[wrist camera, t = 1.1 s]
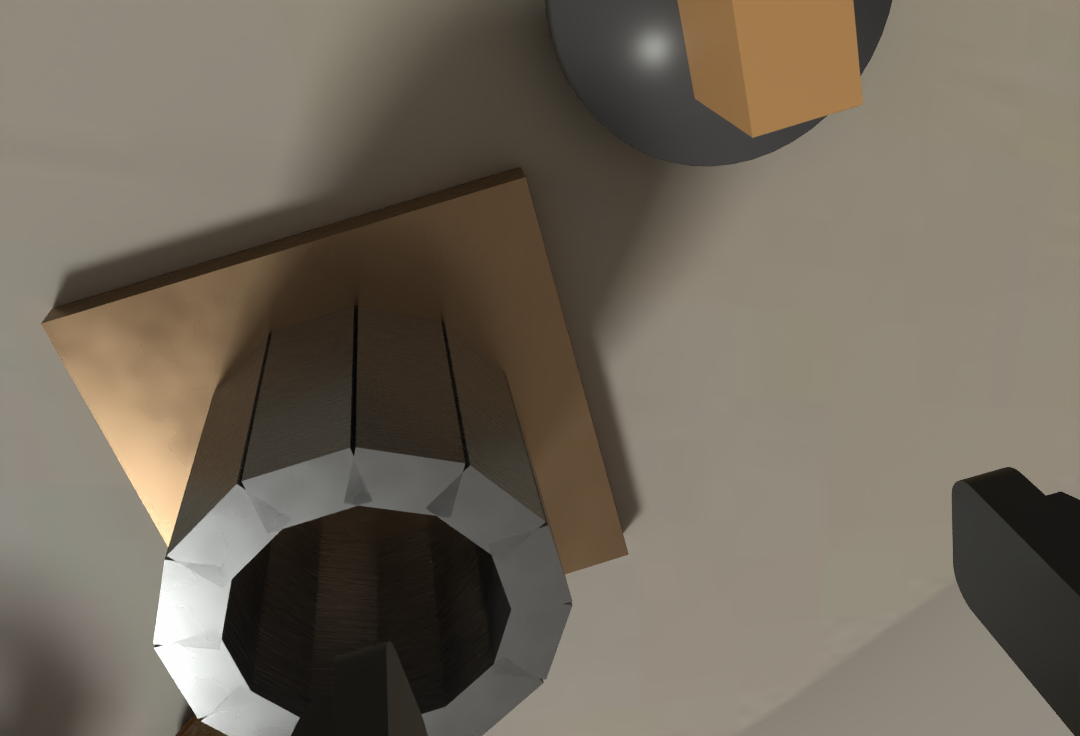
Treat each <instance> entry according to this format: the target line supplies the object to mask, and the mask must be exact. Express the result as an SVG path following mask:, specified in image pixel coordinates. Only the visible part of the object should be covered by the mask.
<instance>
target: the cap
mask: <svg viewBox="0 0 1080 736" xmlns="http://www.w3.org/2000/svg"><path fill="white" fill-rule="evenodd" d="M891 3H892V0H546V14H547V20H548V26H549V31H550V36H551V40H552V43H553V46H554V49H555V53H556V56H557V59H558V61H559V63H560V65H561V67H562V70H563V72H564V74H565V76H566V78H567V80H568V82H569V83H570V85H571V86H572V88H573V90H574V91H575V93H576V94H577V96H578V97H579V99H580V100H581V101H582V102H583V103H584V105H585V106H586V107H587V108H588V109H589V111H590V112H591V113H592V114H593V115H594V116H595V117H596V118H597V119H598V120H599V121H600V122H601V123H602V124H603V125H604V126H605V127H606V128H607V129H609V130H610V131H611V132H612V133H613V134H614V135H615V136H617V137H618V138H620V139H621V140H623V141H624V142H626V143H627V144H629V145H630V146H632V147H634V148H636V149H638V150H640V151H642V152H644V153H646V154H648V155H650V156H653V157H656V158H659V159H662V160H665V161H669V162H673V163H679V164H684V165H690V166H719V165H729V164H735V163H739V162H743V161H748V160H752V159H755V158H758V157H760V156H763V155H766V154H768V153H771V152H774V151H776V150H778V149H780V148H781V147H783V146H785V145H787V144H789V143H791V142H793V141H794V140H796V139H797V138H799V137H800V136H802V135H803V134H805V133H806V132H808V131H809V130H811V129H812V128H813V127H814V126H816V125H817V124H818V123H819V122H820V121H821V120H823V119H824V118H825V117H826V116H827V115H829V114H833V113H836V112H839V111H843V110H846V109H849V108H853V107H856V106H859V105H862V104H863V100H862V89H861V78H860V76H861V74H862V73H863V71H864V69H865V68H866V66H867V64H868V63H869V61H870V59H871V57H872V55H873V53H874V51H875V49H876V47H877V44H878V42H879V40H880V38H881V36H882V33H883V30H884V27H885V24H886V21H887V18H888V15H889V12H890V7H891Z"/></svg>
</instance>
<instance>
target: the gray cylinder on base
mask: <svg viewBox="0 0 1080 736" xmlns="http://www.w3.org/2000/svg"><path fill="white" fill-rule="evenodd" d="M41 324H42V326H43V328H44V330H45V331H46V333H47V335H48V337H49V339H50V340H51V342H52V344H53V346H54V347H55V349H56V351H57V353H58V354H59V356H60V358H61V360H62V361H63V363H64V365H65V367H66V368H67V370H68V372H69V374H70V375H71V377H72V379H73V381H74V382H75V384H76V386H77V388H78V389H79V391H80V393H81V395H82V397H83V398H84V400H85V402H86V404H87V405H88V407H89V409H90V411H91V412H92V414H93V416H94V418H95V419H96V421H97V423H98V425H99V426H100V428H101V430H102V432H103V433H104V435H105V437H106V439H107V440H108V442H109V444H110V446H111V447H112V449H113V451H114V453H115V455H116V456H117V458H118V460H119V462H120V463H121V465H122V467H123V469H124V470H125V472H126V474H127V476H128V477H129V479H130V481H131V483H132V484H133V486H134V488H135V490H136V491H137V493H138V495H139V497H140V498H141V500H142V502H143V504H144V505H145V507H146V509H147V511H148V513H149V514H150V516H151V518H152V520H153V521H154V523H155V525H156V527H157V528H158V530H159V532H160V534H161V535H162V537H163V539H164V541H165V542H166V544H167V546H168V550H167V554H166V557H165V561H164V568H163V576H162V583H161V591H160V598H159V605H158V613H157V620H156V628H155V635H154V643H153V644H155V647H154V649H155V650H156V652H157V653H158V655H159V657H160V658H161V660H162V661H163V663H164V665H165V666H166V668H167V670H168V671H169V673H170V674H171V676H172V678H173V679H174V681H175V682H176V684H177V686H178V687H179V689H180V691H181V692H182V694H183V695H184V697H185V699H186V700H187V702H188V704H189V705H190V707H191V708H192V710H193V712H194V713H195V715H196V716H197V718H198V719H199V718H202V720H201V722H203V723H205V724H207V725H209V726H211V727H213V728H215V729H217V730H219V731H221V732H222V733H224V734H226V735H228V736H291V734H292V732H293V730H294V728H295V726H296V724H297V722H298V720H299V718H300V717H301V715H302V713H303V711H304V709H305V707H306V705H310V704H313V703H317V702H320V701H324V700H327V699H331V698H333V690H334V667H335V660H336V657H337V656H338V655H342V654H345V653H349V652H352V651H356V650H359V649H363V648H366V647H370V646H373V645H377V644H380V643H384V642H387V641H390V642H391V643H392V644H393V646H394V648H395V650H396V652H397V655H398V657H399V660H400V662H401V665H402V667H403V670H404V672H405V675H406V677H407V680H408V682H409V685H410V687H411V690H412V692H413V695H414V697H415V700H416V702H417V705H418V707H419V710H420V712H421V715H422V717H423V720H424V723H425V727H426V731H427V734H428V736H482V735H483V734H485V733H486V732H487V731H488V730H489V729H490V728H492V727H493V726H494V725H495V724H496V723H497V722H499V721H500V720H501V719H502V718H503V717H504V716H506V715H507V714H508V713H509V712H510V711H511V710H512V709H514V708H515V707H516V706H517V705H518V704H519V703H521V702H522V701H523V700H524V699H525V698H526V697H528V696H529V695H530V694H531V693H532V692H533V691H535V690H536V689H537V688H538V687H539V686H540V685H542V684H543V683H544V682H543V679H546V678H547V675H548V672H549V670H550V667H551V664H552V661H553V658H554V655H555V653H556V650H557V647H558V644H559V641H560V639H561V636H562V633H563V630H564V627H565V624H566V622H567V619H568V616H569V613H570V610H571V607H572V603H571V602H572V598H571V595H570V591H569V588H568V584H567V581H566V577H565V574H567V573H571V572H574V571H577V570H580V569H583V568H587V567H590V566H593V565H596V564H599V563H603V562H606V561H609V560H612V559H615V558H619V557H622V556H625V555H628V551H627V547H626V543H625V540H624V536H623V532H622V529H621V525H620V521H619V518H618V514H617V510H616V507H615V503H614V499H613V496H612V492H611V488H610V485H609V481H608V477H607V474H606V470H605V466H604V463H603V459H602V455H601V452H600V448H599V444H598V441H597V437H596V433H595V430H594V426H593V422H592V419H591V415H590V411H589V408H588V404H587V400H586V397H585V393H584V389H583V386H582V382H581V378H580V375H579V371H578V367H577V364H576V360H575V356H574V353H573V349H572V345H571V342H570V338H569V334H568V331H567V327H566V323H565V319H564V316H563V312H562V308H561V305H560V301H559V297H558V294H557V290H556V286H555V283H554V279H553V275H552V272H551V268H550V264H549V261H548V257H547V253H546V250H545V246H544V242H543V239H542V235H541V231H540V228H539V224H538V220H537V217H536V213H535V209H534V206H533V202H532V198H531V195H530V191H529V187H528V184H527V180H526V177H525V175H524V173H523V171H522V169H521V167H519V168H516V169H512V170H509V171H506V172H502V173H499V174H496V175H492V176H489V177H486V178H483V179H479V180H476V181H473V182H469V183H466V184H463V185H459V186H456V187H453V188H449V189H446V190H443V191H440V192H436V193H433V194H430V195H426V196H423V197H420V198H416V199H413V200H410V201H406V202H403V203H400V204H397V205H393V206H390V207H387V208H383V209H380V210H377V211H373V212H370V213H367V214H364V215H360V216H357V217H354V218H350V219H347V220H344V221H340V222H337V223H334V224H330V225H327V226H324V227H321V228H317V229H314V230H311V231H307V232H304V233H301V234H297V235H294V236H291V237H287V238H284V239H281V240H278V241H274V242H271V243H268V244H264V245H261V246H258V247H254V248H251V249H248V250H245V251H241V252H238V253H235V254H231V255H228V256H225V257H221V258H218V259H215V260H211V261H208V262H205V263H202V264H198V265H195V266H192V267H188V268H185V269H182V270H178V271H175V272H172V273H169V274H165V275H162V276H159V277H155V278H152V279H149V280H145V281H142V282H139V283H135V284H132V285H129V286H126V287H122V288H119V289H116V290H112V291H109V292H106V293H102V294H99V295H96V296H92V297H89V298H86V299H83V300H79V301H76V302H73V303H69V304H66V305H63V306H59V307H56V308H53V309H51V311H50V312H49V313H48V315H47V316H46V318H45V319H44V320H43V322H42V323H41Z"/></svg>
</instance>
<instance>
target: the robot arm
mask: <svg viewBox="0 0 1080 736" xmlns="http://www.w3.org/2000/svg"><path fill="white" fill-rule="evenodd" d="M952 530H953V567H954V573H955V577H956V580H957V584H958V586H959V588H960V591H961V593H962V596H963V598H964V599H965V601H966V603H967V604H968V606H969V607H970V609H971V610H972V612H973V613H974V614H975V615H976V616H977V618H978V619H979V620H980V621H981V623H982V624H983V625H984V626H985V627H986V629H987V630H988V631H989V632H990V633H991V635H992V636H993V637H994V638H995V639H996V641H997V642H998V643H999V644H1000V646H1001V647H1002V648H1003V649H1004V650H1005V652H1006V653H1007V654H1008V655H1009V657H1010V658H1011V659H1012V660H1013V661H1014V663H1015V664H1016V665H1017V666H1018V667H1019V669H1020V670H1021V671H1022V672H1023V673H1024V675H1025V676H1026V677H1027V678H1028V680H1030V682H1031V683H1032V684H1033V686H1034V687H1035V688H1036V689H1037V690H1038V692H1039V693H1040V694H1041V695H1042V697H1043V698H1044V699H1045V700H1046V701H1047V703H1048V704H1049V705H1050V706H1051V707H1052V709H1053V710H1054V711H1055V712H1056V714H1057V715H1058V716H1059V717H1060V718H1061V720H1062V721H1063V722H1064V723H1065V724H1066V726H1067V727H1068V728H1069V729H1070V730H1071V732H1072V733H1073V734H1074V735H1075V736H1080V500H1079V499H1077V498H1074V497H1072V496H1070V495H1068V494H1065V493H1063V492H1058V493H1054V494H1051V495H1047V496H1045V495H1044V494H1043V493H1042V492H1041V491H1040V490H1039V489H1038V488H1037V487H1036V486H1034V485H1033V484H1032V483H1031V482H1030V481H1029V480H1028V479H1027V478H1026V477H1025V476H1023V475H1022V474H1021V473H1020V472H1019V471H1018V470H1016V469H1014V468H1011V467H1006V468H1002V469H999V470H995V471H992V472H988V473H985V474H981V475H977V476H974V477H970V478H967V479H963V480H960V481H957V482H956V483H955V484H954V486H953V489H952ZM291 736H428V734H427V731H426V727H425V723H424V720H423V717H422V715H421V712H420V710H419V707H418V705H417V702H416V700H415V697H414V695H413V692H412V690H411V687H410V685H409V682H408V680H407V677H406V675H405V672H404V670H403V667H402V665H401V662H400V660H399V657H398V655H397V652H396V650H395V648H394V646H393V644H392V643H391V642H390V641H387V642H384V643H380V644H377V645H373V646H370V647H366V648H363V649H359V650H356V651H352V652H349V653H345V654H342V655H338V656H337V657H336V660H335V667H334V690H333V698H331V699H327V700H324V701H320V702H317V703H313V704H310V705H306V707H305V709H304V711H303V713H302V715H301V717H300V718H299V720H298V722H297V724H296V726H295V728H294V730H293V732H292V734H291Z"/></svg>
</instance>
